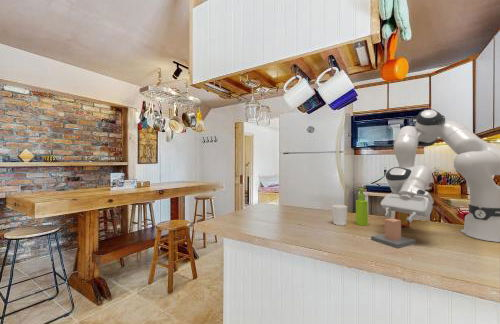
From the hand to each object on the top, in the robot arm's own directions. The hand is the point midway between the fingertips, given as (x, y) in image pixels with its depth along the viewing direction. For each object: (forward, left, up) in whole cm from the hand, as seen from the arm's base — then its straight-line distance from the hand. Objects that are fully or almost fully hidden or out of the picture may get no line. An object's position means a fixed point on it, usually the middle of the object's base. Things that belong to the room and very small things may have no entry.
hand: (397, 218), depth 106 cm
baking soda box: (-26, -16, -10) cm, 32 cm away
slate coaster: (+2, -1, -10) cm, 10 cm away
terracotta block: (+2, -1, -8) cm, 9 cm away
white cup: (0, -33, -10) cm, 34 cm away
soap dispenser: (-10, -27, -10) cm, 30 cm away
